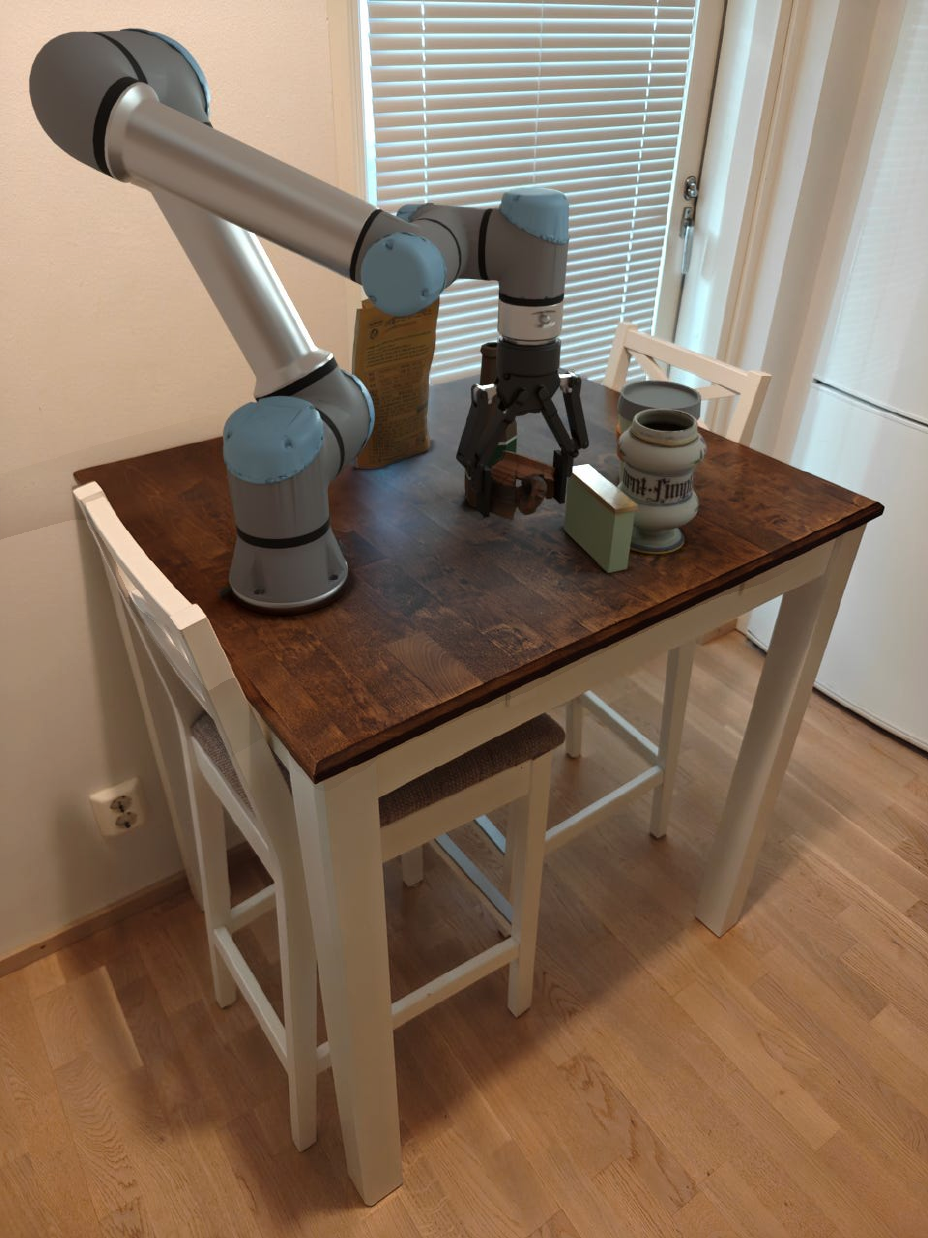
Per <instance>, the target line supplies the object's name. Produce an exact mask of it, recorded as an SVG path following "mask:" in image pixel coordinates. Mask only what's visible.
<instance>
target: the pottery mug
mask: <svg viewBox="0 0 928 1238" xmlns="http://www.w3.org/2000/svg"><path fill="white" fill-rule="evenodd" d="M501 454H502V457H501V458H500V459H499V460H497V461H496V462H494V463H493V464H492V465H491V466H490V468H489V469H490V470H491V492H490V514H493V515H495V516H498V517H501V518H504V519H505V520H509V521H513V520H514V517H515V514H516V511H517V510H519V512H520V513H521V514H522V515H524V516H529V515H532V514H535V513H536V511H537V509H538V508H539V507H540V506H541V505H542V504H543V502H544V500H545V499H546V500H552V499H554V498H553V495H554V479H553V473H554V472H555V468H553V465H550V464H548V463H545V462H544V461H541V460H538V459H535V458H533V457H529V456H526V455H523V454H521V453H517V452H516V453H514V452H510V451H502V452H501ZM517 480H518V481H521V482H520V484H521V485H519V486H517Z"/></svg>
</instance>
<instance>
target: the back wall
mask: <svg viewBox="0 0 928 1238" xmlns="http://www.w3.org/2000/svg"><path fill="white" fill-rule="evenodd" d="M637 509H638V505H637V504H636V503H635V502H634V501H632V500H631V499H630V498H629V497H628V496H626V495H625V494H624V493H623V492H622V491H620V490H619V489H618V488H617V486H616V485H615V484H613V483H612V482H611V481H610V480H609V479H607V477H605V476H604V475H602V474H601V473H600V472H598V471H597V469H595V468H594V467H593V466H592V465H590V464H589V463H586V464H581V465H573V473H572V475H571V477H567V487H566V498H565V513H564V522H563V523H564V524H563V530H564V531H565V532H566V533H567V534H568V536H570V537H571V538H572V539H573V540H574V541H575V542H576V543H577V544H578V545H579V547H581V548H582V549H583V550H584V551H585V552H586V553H587V554H588V555H589V556H590V557H591V558H592V559H593V560H594V561H595V562H596V563H597V564H598V565H599V566H600V567H601V568H602V569H603V570H604V571H605V572H606V573H607V574H609V573H614V572H619V571H624V570H627V569H628V565H629V557H630V552H631V549H630V543H631V536H632V529H633V521H634V514H635V511H636V510H637Z"/></svg>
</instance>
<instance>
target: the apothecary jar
mask: <svg viewBox="0 0 928 1238" xmlns="http://www.w3.org/2000/svg"><path fill="white" fill-rule="evenodd" d="M698 427H699V426H698V420H696V418H695V417H693V416H692V415H690V414H688V413H686V412H683V411H679V410H673V409H648V410H644V411H642V412H639V413H638V414H636V415H635V417H634V419H633V423H632V425H631V427H630V428H628V429H627V430H625V431H624V432H623V434H622V435H621V436H620V438H619V441H618V450H619V453H620V455H621V456H622V458H623V459H624V460H625V464H624V473H623V480H622V482H621V483H620V482H619V484H618V485H617V486H616V487H617V488H618V489H619V490H620V491H622V492H623V493H624V494H625V495H626V496H628V497H629V498H630V499H631V500H632V501H634V502H635V503H636V504H637V505H638V509H637V510H636V511H635V514H634V521H633V529H632V536H631V543H630V551H633V552H637V553H641V554H645V555H646V554H647V555H666V554H670V553H674V552H676V551H679V549H680V548H682V546H683V545H684V544H685V536H684V533H683V532H682V530H681V529H680V528H681V527H683V526H685V525H687V524H688V523H689V522H691V521H692V520H694V518H695V517H696V515H697V513H698V511H699V508H700V507H699V505H700V504H699V503H700V502H699V497H698V495H697V493H696V492H695V490H694V489H693V482H694V474H695V468H696V467H698V466H699V465H701V463H702V462H703V461H704V460H705V458H706V455H707V451H708V449H707V448H708V447H707V443H706V441H705V439H704V437H703V436H702V435H701V433H699V432H698V431H699V430H698Z"/></svg>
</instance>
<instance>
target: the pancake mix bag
mask: <svg viewBox="0 0 928 1238" xmlns="http://www.w3.org/2000/svg"><path fill="white" fill-rule="evenodd" d="M440 296H441V294H440V295H439V297H438V298H437V300H436V301H434V302H433V303H432V304H431V305H430V306H428V307H426V308H424V309H422V310H420V311H418V312H416V313H414V314H412V315H408V316H392V315H389V314H386V313H384V312H382V311H381V310H379V309H378V308H377V307H375V305H374V304H373V303H372V302H371V301H370V299H369V298H368V297H367V298H365V299H363V300H360V302H361V308H356V311H355V313H356V314H355V321H354V329H353V332H354V333H353V342H352V353H351V354H352V355H351V375H354V376H356V377H357V378H358V379H359V380H360V381H361V382H362V383H363V384H364V386H365V387H366V389H367V390H368V392H369V394H370V396H371V399H372V402H373V406H374V412H375V420H374V427H373V430H372V433H371V435H370V437H369V439H368V440H367V442H366V445H365V446H364V448H363V450H362V451H361V452H360V454H359V455H357V456H356V465H355V468H356V469H362V470H377V469H384V468H385V467H389V466H391V465H393V464H396V463H398V462H401V461H404V460H406V459H409V458H411V457H414V456H416V455H417V456H418V455H420V454H422V453H426V452H429V450H430V448H431V435H430V431H429V428H428V414H429V413H428V412H429V400H430V373H431V370H432V365H433V360H434V356H435V351H436V339H437V324H438V317H439V311H440V310H439V309H440V305H441V304H440V303H441V301H440V300H441V297H440Z"/></svg>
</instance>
